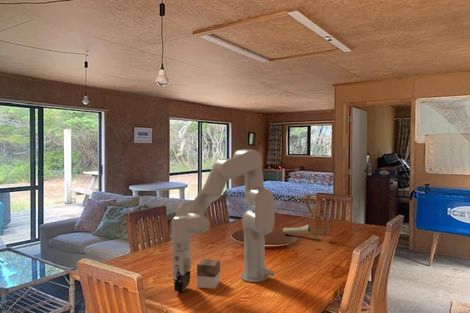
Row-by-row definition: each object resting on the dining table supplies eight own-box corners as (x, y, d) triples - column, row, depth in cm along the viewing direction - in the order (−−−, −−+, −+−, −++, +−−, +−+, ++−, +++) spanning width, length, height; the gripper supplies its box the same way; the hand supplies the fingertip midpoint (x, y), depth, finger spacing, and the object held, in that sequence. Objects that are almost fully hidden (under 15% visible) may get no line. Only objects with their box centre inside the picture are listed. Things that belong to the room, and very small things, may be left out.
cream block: (219, 281, 156) (219, 271, 156) (214, 289, 148) (214, 277, 148) (202, 280, 158) (202, 269, 158) (197, 287, 150) (197, 276, 150)
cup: (172, 288, 149) (172, 269, 149) (189, 286, 150) (189, 268, 150) (173, 295, 141) (173, 275, 141) (191, 293, 143) (191, 274, 143)
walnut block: (219, 271, 156) (219, 260, 156) (214, 277, 148) (214, 265, 148) (203, 269, 158) (203, 258, 158) (197, 275, 150) (197, 264, 150)
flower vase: (290, 244, 242) (337, 241, 221) (280, 243, 233) (329, 239, 212) (289, 227, 246) (335, 223, 225) (279, 225, 237) (327, 220, 216)
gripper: (182, 252, 136) (182, 297, 137) (196, 240, 153) (196, 280, 154) (164, 251, 138) (165, 295, 138) (180, 239, 155) (180, 279, 155)
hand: (181, 287), depth 146 cm, fingers closed on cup, 6 cm apart
